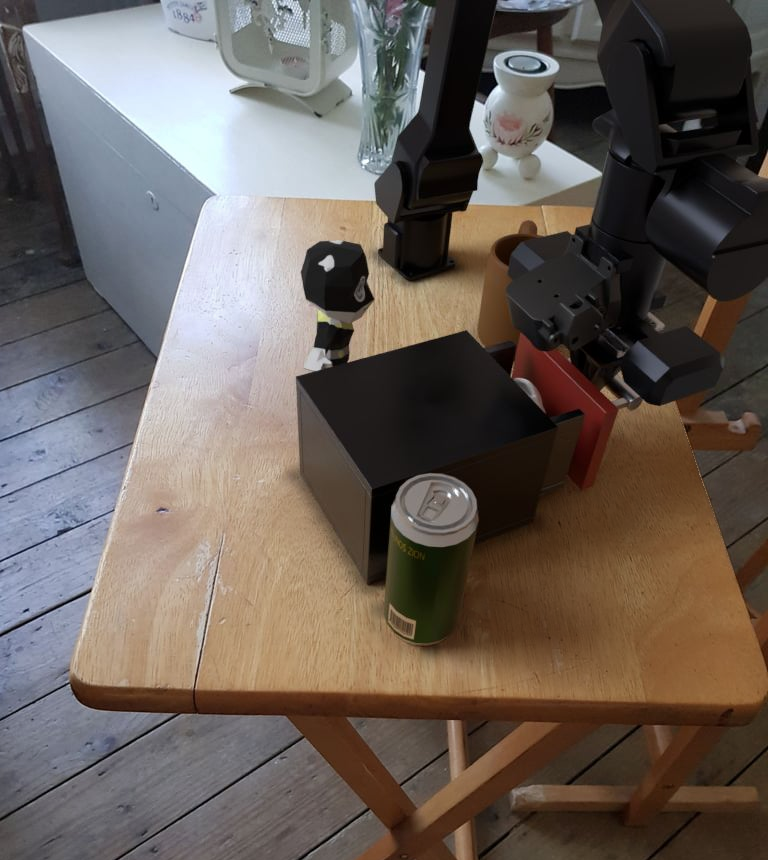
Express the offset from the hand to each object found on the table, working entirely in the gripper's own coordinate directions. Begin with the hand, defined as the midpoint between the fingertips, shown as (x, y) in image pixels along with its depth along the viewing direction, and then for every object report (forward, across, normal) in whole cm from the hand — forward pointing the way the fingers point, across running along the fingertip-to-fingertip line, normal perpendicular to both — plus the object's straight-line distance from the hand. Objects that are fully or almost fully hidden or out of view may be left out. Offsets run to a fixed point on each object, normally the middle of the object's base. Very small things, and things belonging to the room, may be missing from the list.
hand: (582, 399), depth 67 cm
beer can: (+5, +10, -20) cm, 24 cm away
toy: (+5, -14, -16) cm, 22 cm away
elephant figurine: (+3, 0, -8) cm, 8 cm away
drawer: (+4, 0, -6) cm, 8 cm away
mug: (+5, -17, +5) cm, 18 cm away
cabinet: (+5, 0, -15) cm, 16 cm away
